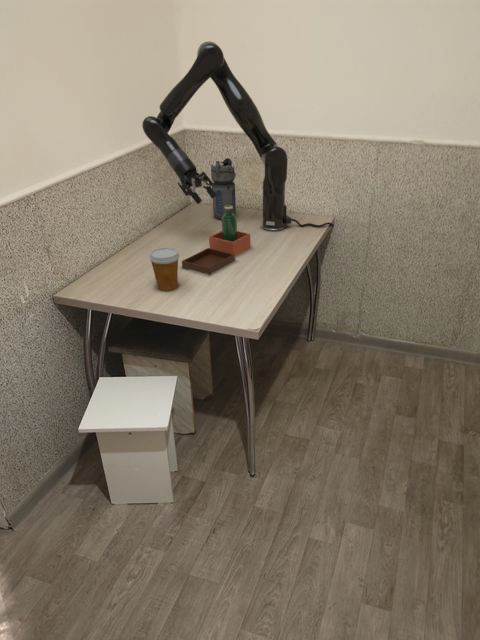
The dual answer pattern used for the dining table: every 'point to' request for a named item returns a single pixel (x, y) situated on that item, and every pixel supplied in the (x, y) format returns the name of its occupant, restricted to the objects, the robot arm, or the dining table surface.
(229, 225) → the bottle
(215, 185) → the beverage bottle
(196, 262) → the tray
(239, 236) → the bin
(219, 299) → the dining table surface
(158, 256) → the disposable coffee cup
